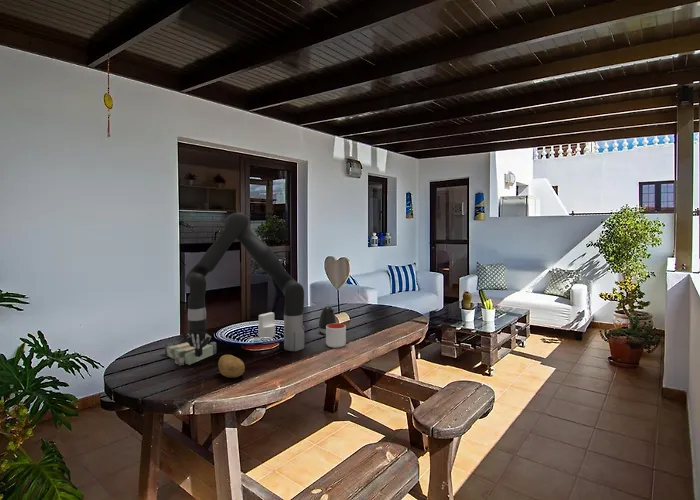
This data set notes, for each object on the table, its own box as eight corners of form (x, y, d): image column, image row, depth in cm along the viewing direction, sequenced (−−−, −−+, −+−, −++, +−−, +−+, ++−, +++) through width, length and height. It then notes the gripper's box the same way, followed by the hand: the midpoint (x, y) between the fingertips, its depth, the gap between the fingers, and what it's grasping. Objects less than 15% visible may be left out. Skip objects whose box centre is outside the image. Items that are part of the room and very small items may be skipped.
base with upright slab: (265, 339, 212) (265, 317, 211) (254, 336, 217) (254, 314, 216) (278, 335, 219) (278, 313, 218) (267, 332, 224) (267, 311, 223)
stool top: (215, 355, 187) (215, 344, 187) (180, 366, 174) (180, 354, 173) (193, 346, 199) (192, 336, 199) (158, 355, 186) (158, 344, 185)
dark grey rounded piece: (326, 337, 217) (326, 309, 216) (314, 332, 225) (314, 305, 223) (340, 333, 224) (340, 306, 222) (329, 329, 231) (329, 303, 230)
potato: (228, 385, 155) (228, 365, 154) (212, 374, 165) (212, 355, 164) (251, 378, 161) (251, 359, 161) (234, 368, 172) (234, 350, 171)
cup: (348, 343, 206) (349, 324, 205) (340, 349, 197) (340, 329, 196) (331, 341, 210) (331, 322, 209) (322, 346, 201) (322, 327, 200)
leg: (213, 351, 191) (212, 341, 191) (217, 352, 190) (217, 342, 190) (185, 363, 176) (184, 352, 176) (189, 364, 175) (189, 353, 175)
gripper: (215, 316, 178) (216, 354, 179) (189, 314, 181) (191, 352, 183) (205, 320, 170) (207, 360, 172) (178, 319, 174) (180, 358, 175)
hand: (198, 356), depth 177 cm, fingers closed
